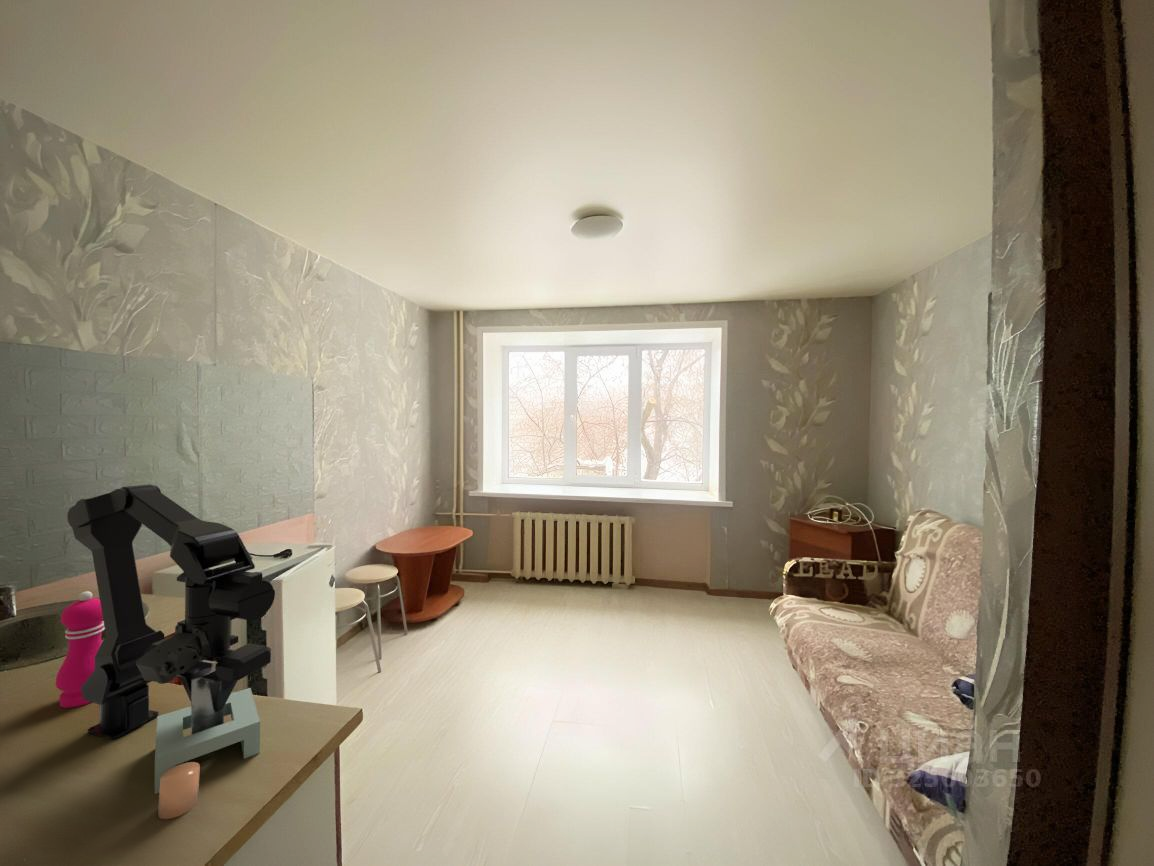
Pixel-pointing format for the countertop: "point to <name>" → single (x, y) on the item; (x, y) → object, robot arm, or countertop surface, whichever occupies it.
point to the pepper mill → (79, 647)
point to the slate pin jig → (206, 734)
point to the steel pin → (203, 704)
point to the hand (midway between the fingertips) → (208, 708)
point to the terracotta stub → (178, 790)
